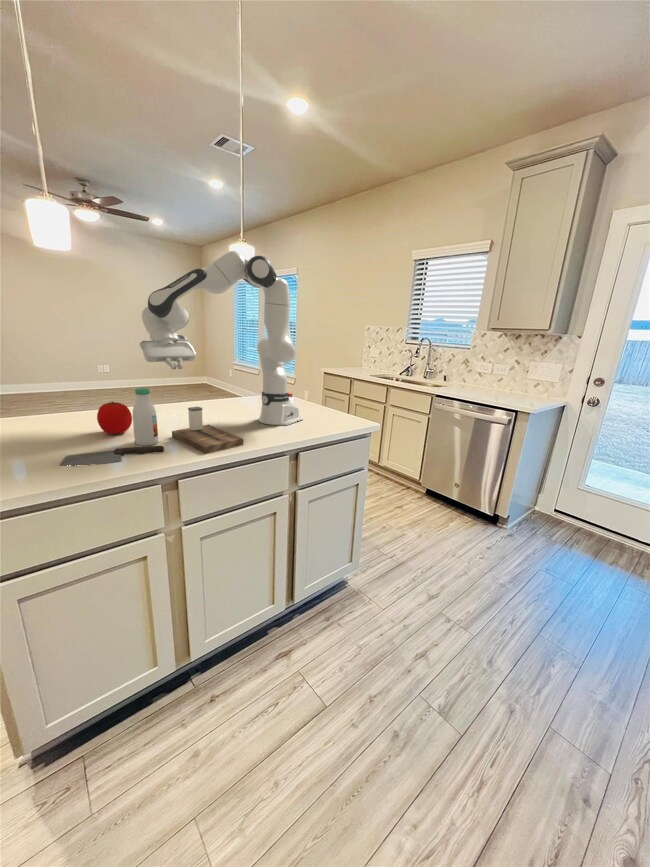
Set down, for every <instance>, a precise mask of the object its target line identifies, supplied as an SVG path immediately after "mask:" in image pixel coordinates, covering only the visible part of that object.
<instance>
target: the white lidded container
mask: <svg viewBox="0 0 650 867" xmlns="http://www.w3.org/2000/svg"><path fill="white" fill-rule="evenodd" d="M187 411H188V428H189V429H191V430H193V431H194V430H200V429H203V424H204V422H203V407H200V406H191V407H187Z"/></svg>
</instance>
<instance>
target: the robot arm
mask: <svg viewBox="0 0 650 867" xmlns="http://www.w3.org/2000/svg"><path fill="white" fill-rule="evenodd" d="M240 280H243V281H245V282H246V283H248V284H249V285H250V286H252V287H254V288H261V289H262V291H263V294H264V295H263V296H264V304H263V305H264V306H263V307H264V309H263V322H264V326H265V329H266V332H267V337H264V338H262V339H261V340H259V341H258V343H257V347H256V348H257V349H256V350H257V353H258V355H259V359H260V364H261V365H260V366H261V372H262V391H261V402H262V404H261V409H260V410H261V411H260V414H259V418H258V422H260V423H262V424H266V425H272V426H278V425H279V426H289V424H290V425H292V423H293V424H295V422H296V423H298V422H297V421H299V422H301V421H304V420H303V419H304V417H303V416H302V415H300V411H299V408H298V406H297V405H296V404H294V403H293V402H292V401H291V400H290V398H293V396H294V394H293V392H287V386H288V384H287V383H288V376H287V373H286V370H285V367H284V364H288V363H291V362H292V361H293V360H294V358H295V357H296V353H297V352H296V347H295V345H294V343H293V339H292V335H291V330H290V309H291V307H290V306H291V296H290V286H289V283H288V281H287V280H285V279H283V278H282V277H278V276H277V273H276V271H275V268H274V266H273V264H272V263H271V261H270V260H269V259H268V258H267V257H266V256H263V255H255V256H252V257H251V258H250V259H249V260H248V259H246V258H245V257H243V255H242V254H241V253H240V252H238V251H236V250H230V251H227V252H226V253H224V254H223V255H221V256H220V257H218V258H216V260H214V261H213V262H211V263H210V264H209V265H207V266H204V267H203V268H196V269H195V268H194V269H193V270H190V271H189V272H187V273H185V274H184V275H182V276H180V277H178V279H176V280H174V281H173V282H171V283H169V284H167V285H166V286H164V287H162V288H159V289H156V290H154V291H152V292H151V293H150V295H149V296H148V299H147V306H146V307H144V308H143V310H142V312H141V319H142V323H143V325H144V328H145V331H146V332H147V334H149V339H150V340H142V341H141V342H139V347H140V349H141V350H142V352H143V357H144V359H145V361H146V362H148V363H162V362H163V363H164V362H165V364H166V365H167V366H168V367H170V369H171V370H176V369H178V370H182V369H183V364H182V362H193V361H195V359H196V356H197V352H196V351H195V349H194V347H193V345H191V343H190V342H189V341H188V337H187V336H185V335H182V334H178V333H175V332H177V331H179V330H181V329H183V328H185V327H186V326H187V325H188V323H189V321H190V313H189V312H188V310H187V309H185V308H184V306H183V305H182V304H180V303H179V302H178V300H180V299H181V298H182V297H184V296H186V295H187V294H189V293H191V292H192V291H194V290H204V291H206V292H209V293H211V294H214V295H218V294H220V295H221V294H223V293H225V292H226V291H228V290H229V289H230V288H231V287H233V285H235V284H236V283H237V282H239V281H240ZM176 362H177V364H176ZM300 420H301V421H300Z"/></svg>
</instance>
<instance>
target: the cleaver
mask: <svg viewBox="0 0 650 867" xmlns="http://www.w3.org/2000/svg"><path fill="white" fill-rule="evenodd" d="M153 452H163V453H164V452H165V446H164V445H148V446H140V445H139V446H129V447H120V448H115V449H113V450H112V449H110V450H104V451H93V452H85V453H77V454H75V453H74V454H70V455H69V454H68V455H65V457H64V458H63V459H62V461H61V462H60V463H59V466H67V465H68V466H69V465H71V467H78V466H77V465H88V466H92V465H91V464H96V465H103V464H109V463H110V464H111V463H115V462H117V463H118V462H122V457H123V456H125V455H124V454H126V455H145V453H146V454H154V453H153ZM75 465H76V466H75ZM59 466H58V467H59Z"/></svg>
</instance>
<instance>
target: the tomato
mask: <svg viewBox="0 0 650 867" xmlns="http://www.w3.org/2000/svg"><path fill="white" fill-rule="evenodd" d="M96 420H97V423H98V426H99V428H100V429H101V430H102V431H103V432H104V433H106V434H109V435H118V434H123V433H125V432H127V431H128V430H130V428H131V425H132V424H133V414H132V412H131V410H130V408H129V407H128V406H127V405H125V404H123V403H121V402H119V401H117V402H114V401H111V402H110V401H109V402H106V403H103V404H101V406H100V407H99V408H98V410H97V413H96Z"/></svg>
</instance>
